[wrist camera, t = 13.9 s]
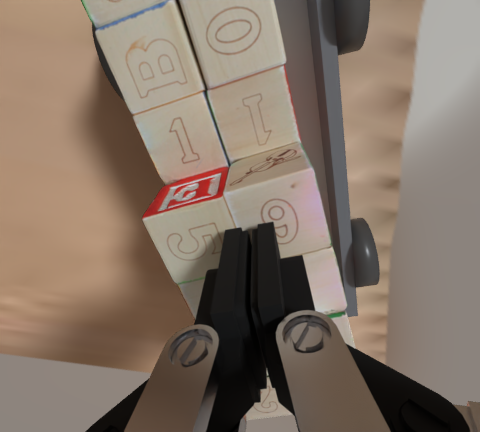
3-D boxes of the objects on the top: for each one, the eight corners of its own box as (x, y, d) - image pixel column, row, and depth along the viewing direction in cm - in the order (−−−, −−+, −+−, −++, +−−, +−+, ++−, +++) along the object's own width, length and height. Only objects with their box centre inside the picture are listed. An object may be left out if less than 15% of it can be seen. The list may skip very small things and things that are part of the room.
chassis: (104, -29, 18) (55, -56, 14) (335, -101, 17) (364, -160, 12) (214, 300, 29) (207, 344, 25) (361, 280, 28) (381, 323, 23)
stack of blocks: (141, -19, 18) (-47, -146, 7) (247, -63, 17) (228, -299, 6) (247, 275, 27) (241, 427, 16) (321, 259, 26) (369, 410, 15)
